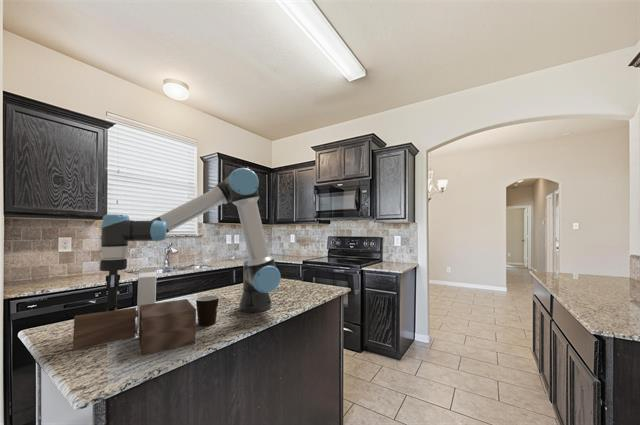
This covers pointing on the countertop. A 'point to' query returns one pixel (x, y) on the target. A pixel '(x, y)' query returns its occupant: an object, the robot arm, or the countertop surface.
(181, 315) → the cabinet
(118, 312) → the door
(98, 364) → the countertop surface
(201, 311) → the coffee mug
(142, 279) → the milk
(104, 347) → the countertop surface
